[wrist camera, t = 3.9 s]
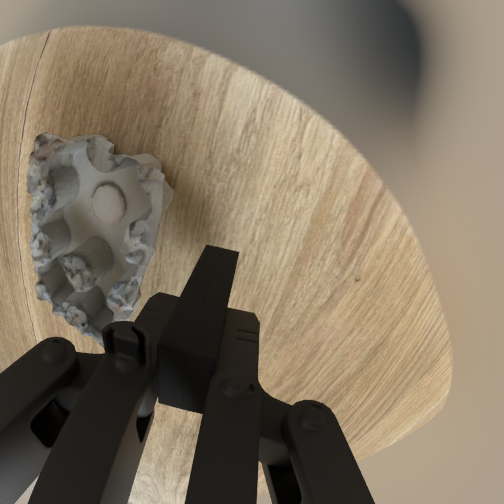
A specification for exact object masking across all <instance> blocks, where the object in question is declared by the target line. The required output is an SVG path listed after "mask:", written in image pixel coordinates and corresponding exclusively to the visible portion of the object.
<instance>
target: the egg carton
mask: <svg viewBox="0 0 504 504" xmlns="http://www.w3.org/2000/svg"><path fill="white" fill-rule="evenodd" d="M114 146H115V144H113V143H111V142H109V140H108V139H107V137H104V136H102V135H99V134H92V135H80V136H73V137H71V138H70V140H67V139H64V138H62V137H60V136H58V135H54V134H50V133H46V132H43V133H42V134H39V135H38V136H37V137H36V139H35V141H34V151H33V152H32V153H31V154H30V159H29V165H30V168H29V171H28V174H27V179H28V181H27V184H28V190H27V192H28V193H30V194H33V199H32V204H31V208H30V212H29V217H30V218H31V219H32V226H31V228H32V235H31V241H30V248H31V253H32V259H33V262H34V264H35V273H36V274H37V275H38V276H39V281H38V282H37V284H36V285H35V290H36V293H37V298H38V299H39V300H47V301H48V302H50V303H51V304H52V305H53V309H52V313H53V314H54V315H61V316H63V317H64V318H65V320H66V321H67V323H69V325H72V326H74V327H76V328H77V329H78V330H79V331H80V332H81V333H82V335H83V336H92V337H93V338H94V339H95V340H96V341H97V342H98V343H99V344H100V345H101V346H102V347H103V348H104V344H103V338H102V332H101V330H102V329H103V328H104V327H105V326H106V325H108V324H110V323H113V322H115V321H129V320H130V319H131V317H132V316H133V314H134V313H135V311H136V309H137V308H138V307H139V305H140V301H141V294H140V293H139V292H138V291H139V288H140V285H141V282H142V279H143V276H144V274H145V272H146V269H147V267H148V265H149V264H150V263H151V261H152V259H153V257H154V253H155V247H154V246H155V241H156V237H157V233H158V229H159V225H160V221H161V214H162V213H163V212H164V211H165V210H167V209H168V208H169V206H170V204H171V202H172V200H173V197H174V192H175V191H174V189H173V188H172V187H171V186H169V185H168V183H167V182H166V180H165V178H164V177H165V175H164V174H163V173H162V164H161V161H160V160H159V159H158V158H156V157H154V156H152V155H151V154H150V153H144V154H139V155H134V156H129V155H126V154H122V153H118V154H114Z"/></svg>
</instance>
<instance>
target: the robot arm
mask: <svg viewBox="0 0 504 504" xmlns="http://www.w3.org/2000/svg"><path fill="white" fill-rule="evenodd" d="M238 256H239V252H237V251H233V250H228V249H224V248H219V247H215V246H210V245H206V247H205V248H204V250H203V252H202V254H201V256H200V258H199V260H198V262H197V264H196V266H195V268H194V270H193V272H192V274H191V276H190V278H189V280H188V282H187V284H186V286H185V288H184V290H183V292H182V294H181V296H180V297H177V296H173V295H169V294H165V293H161V292H159V293H157V294H155V295H154V296H152V297H150V298H149V300H148V301H147V303H146V304H145V306H144V308H143V309H142V310H141V312H140V314H139V316H138V317H137V318H136V320H135V322H131V321H115V322H113V323H110V324H108V325H106V326H105V327H104V328H103V329H102V330H101V332H102V338H103V344H104V350H105V353H103V354H90V353H81V352H76V350H75V346H74V345H73V344H72V343H71V342H70V341H69V340H67V339H65V338H62V337H51V338H47V339H45V340H43V341H41V342H40V343H38V344H37V345H36V346H34V347H33V348H32V349H31V350H29V351H28V352H27V353H25V354H24V355H23V356H22V357H20V358H19V359H18V360H17V361H15V362H14V363H13V364H12V365H10V366H9V367H8V368H7V369H6V370H4V371H3V372H2V373H1V374H0V504H14V503H15V502H16V501H17V500H18V499H19V497H20V496H21V495H22V494H23V493H24V492H25V491H26V489H27V488H28V487H29V486H30V485H31V483H32V482H33V481H34V480H35V479H36V478H37V476H39V477H38V480H37V482H36V485H35V487H34V489H33V492H32V494H31V496H30V499H29V502H28V504H127V503H128V499H129V496H130V492H131V489H132V485H133V482H134V479H135V475H136V472H137V469H138V466H139V462H140V459H141V456H142V453H143V450H144V446H145V443H146V440H147V437H148V434H149V431H150V428H151V425H152V422H153V419H154V412H155V411H154V406H155V403H156V400H157V398H158V402H159V403H161V404H165V405H168V406H172V407H176V408H180V409H184V410H188V411H192V412H196V413H200V414H203V416H202V420H201V425H200V430H199V435H198V440H197V444H196V449H195V454H194V459H193V464H192V469H191V474H190V479H189V484H188V489H187V495H186V500H185V504H256V502H257V483H258V462H259V461H260V462H261V463H262V467H263V471H264V475H265V478H266V482H267V486H268V490H269V494H270V497H271V501H272V504H375V503H374V500H373V498H372V496H371V494H370V492H369V489H368V487H367V485H366V482H365V480H364V478H363V476H362V474H361V471H360V469H359V467H358V465H357V463H356V460H355V458H354V456H353V454H352V452H351V449H350V447H349V445H348V443H347V441H346V438H345V436H344V434H343V432H342V430H341V427H340V425H339V423H338V421H337V419H336V417H335V415H334V413H333V412H332V411H331V409H330V408H328V407H327V406H326V405H324V404H323V403H320V402H317V401H315V400H302V401H299V402H296V403H295V404H294V405H293V406H292V405H290V404H287V403H285V402H282V401H280V400H277V399H275V398H273V397H272V396H270V395H269V394H268V393H266V392H265V391H264V390H263V388H262V387H261V385H260V383H259V381H258V357H259V332H260V322H259V321H258V319H257V317H256V315H255V313H251V312H247V311H242V310H237V309H232V308H228V307H227V306H228V301H229V297H230V292H231V287H232V283H233V278H234V274H235V269H236V265H237V260H238ZM39 474H40V475H39Z"/></svg>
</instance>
